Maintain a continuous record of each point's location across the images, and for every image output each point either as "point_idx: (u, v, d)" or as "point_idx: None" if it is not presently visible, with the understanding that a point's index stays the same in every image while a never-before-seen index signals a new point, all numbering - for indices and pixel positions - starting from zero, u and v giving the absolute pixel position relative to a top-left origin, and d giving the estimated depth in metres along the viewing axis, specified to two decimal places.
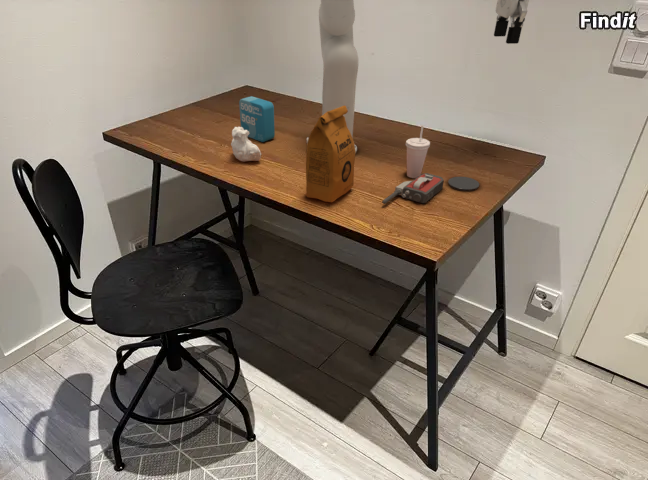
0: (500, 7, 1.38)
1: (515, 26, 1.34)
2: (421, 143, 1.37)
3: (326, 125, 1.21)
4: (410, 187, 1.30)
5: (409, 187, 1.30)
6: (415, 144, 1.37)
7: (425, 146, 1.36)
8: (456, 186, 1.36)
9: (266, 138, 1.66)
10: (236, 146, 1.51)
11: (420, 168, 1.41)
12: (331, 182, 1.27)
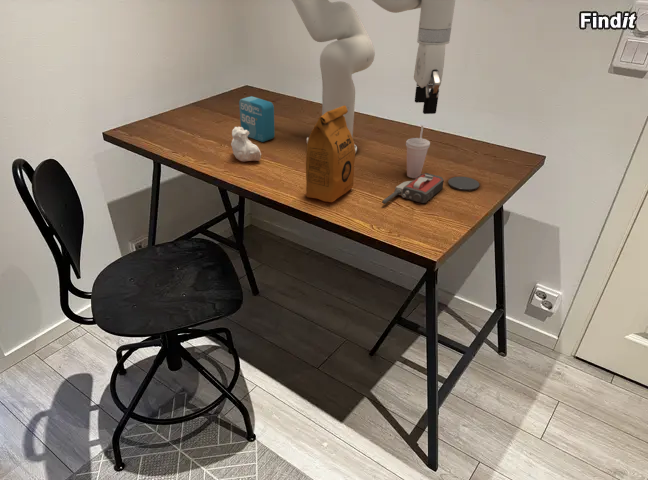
0: (416, 75, 1.29)
1: (430, 97, 1.26)
2: (421, 143, 1.37)
3: (326, 125, 1.21)
4: (410, 187, 1.30)
5: (409, 187, 1.30)
6: (415, 144, 1.37)
7: (425, 146, 1.36)
8: (456, 186, 1.36)
9: (266, 138, 1.66)
10: (236, 146, 1.51)
11: (420, 168, 1.41)
12: (331, 182, 1.27)
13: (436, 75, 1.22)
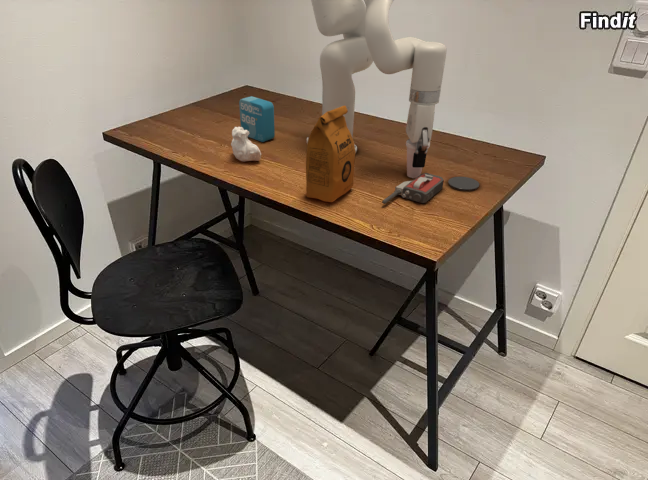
0: (408, 130, 1.37)
1: (419, 153, 1.35)
2: None
3: (326, 125, 1.21)
4: (410, 187, 1.30)
5: (409, 187, 1.30)
6: (415, 144, 1.37)
7: None
8: (456, 186, 1.36)
9: (266, 138, 1.66)
10: (236, 146, 1.51)
11: (420, 168, 1.41)
12: (331, 182, 1.27)
13: (425, 135, 1.31)
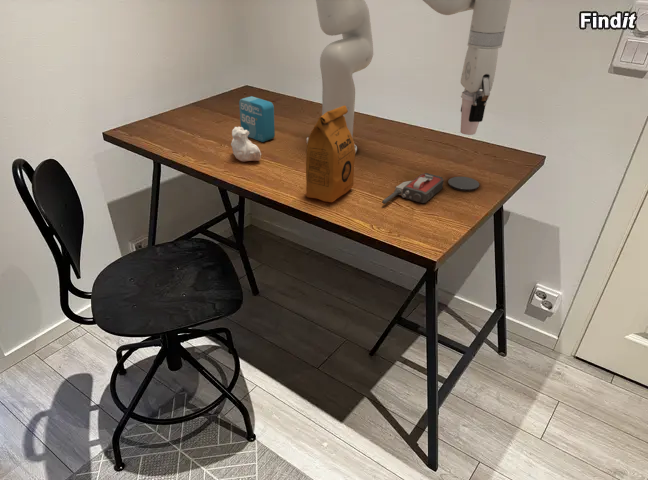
0: (464, 80, 1.24)
1: (478, 105, 1.22)
2: None
3: (326, 125, 1.21)
4: (410, 187, 1.30)
5: (409, 187, 1.30)
6: (473, 95, 1.24)
7: None
8: (456, 186, 1.36)
9: (266, 138, 1.66)
10: (236, 146, 1.51)
11: (476, 123, 1.28)
12: (331, 182, 1.27)
13: (486, 83, 1.18)
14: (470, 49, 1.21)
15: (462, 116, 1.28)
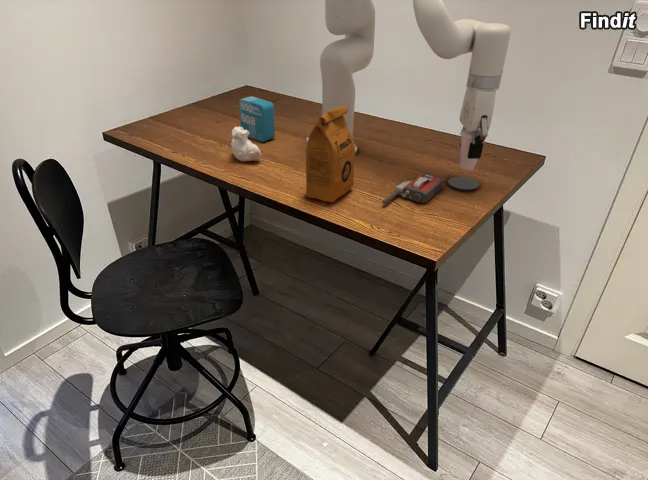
0: (463, 118, 1.29)
1: (476, 143, 1.27)
2: None
3: (326, 125, 1.21)
4: (410, 187, 1.30)
5: (409, 187, 1.30)
6: (471, 134, 1.29)
7: None
8: (456, 186, 1.36)
9: (266, 138, 1.66)
10: (236, 146, 1.51)
11: (475, 159, 1.32)
12: (331, 182, 1.27)
13: (485, 124, 1.23)
14: (469, 90, 1.25)
15: (461, 152, 1.33)
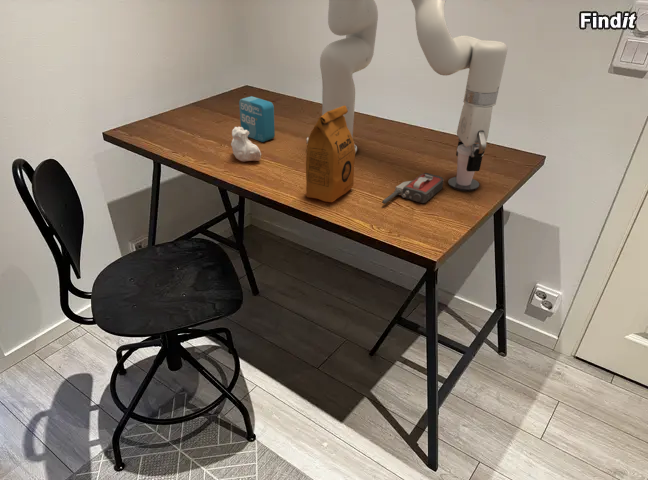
0: (460, 132, 1.31)
1: (475, 156, 1.27)
2: (474, 149, 1.31)
3: (326, 125, 1.21)
4: (410, 187, 1.30)
5: (409, 187, 1.30)
6: (468, 150, 1.31)
7: None
8: (456, 186, 1.36)
9: (266, 138, 1.66)
10: (236, 146, 1.51)
11: (471, 175, 1.35)
12: (331, 182, 1.27)
13: (482, 136, 1.24)
14: (466, 105, 1.27)
15: (458, 168, 1.35)
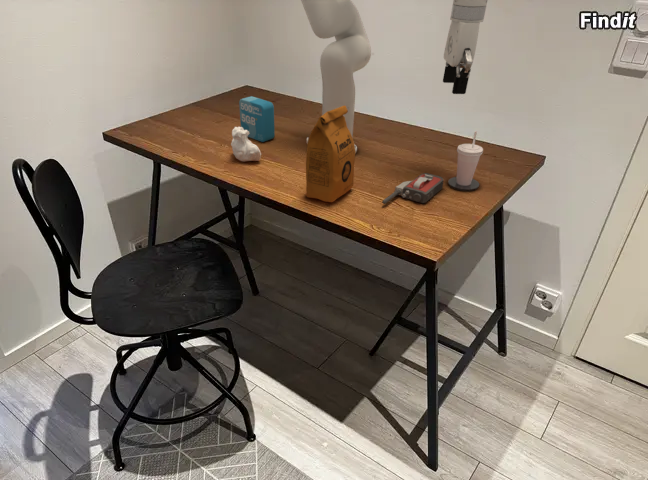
0: (447, 54, 1.27)
1: (461, 76, 1.23)
2: (474, 149, 1.31)
3: (326, 125, 1.21)
4: (410, 187, 1.30)
5: (409, 187, 1.30)
6: (468, 150, 1.31)
7: (478, 152, 1.30)
8: (456, 186, 1.36)
9: (266, 138, 1.66)
10: (236, 146, 1.51)
11: (471, 175, 1.35)
12: (331, 182, 1.27)
13: (468, 54, 1.20)
14: (453, 23, 1.23)
15: (458, 168, 1.35)
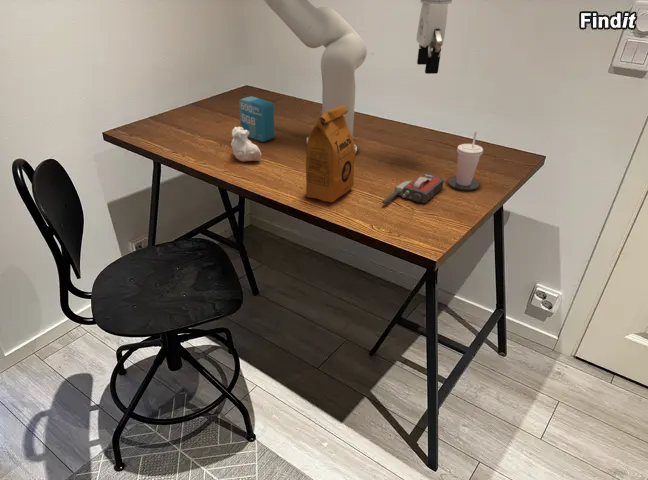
0: (419, 36, 1.32)
1: (432, 56, 1.29)
2: (474, 149, 1.31)
3: (326, 125, 1.21)
4: (410, 187, 1.30)
5: (409, 187, 1.30)
6: (468, 150, 1.31)
7: (478, 152, 1.30)
8: (456, 186, 1.36)
9: (266, 138, 1.66)
10: (236, 146, 1.51)
11: (471, 175, 1.35)
12: (331, 182, 1.27)
13: (438, 34, 1.26)
14: (423, 6, 1.29)
15: (458, 168, 1.35)
